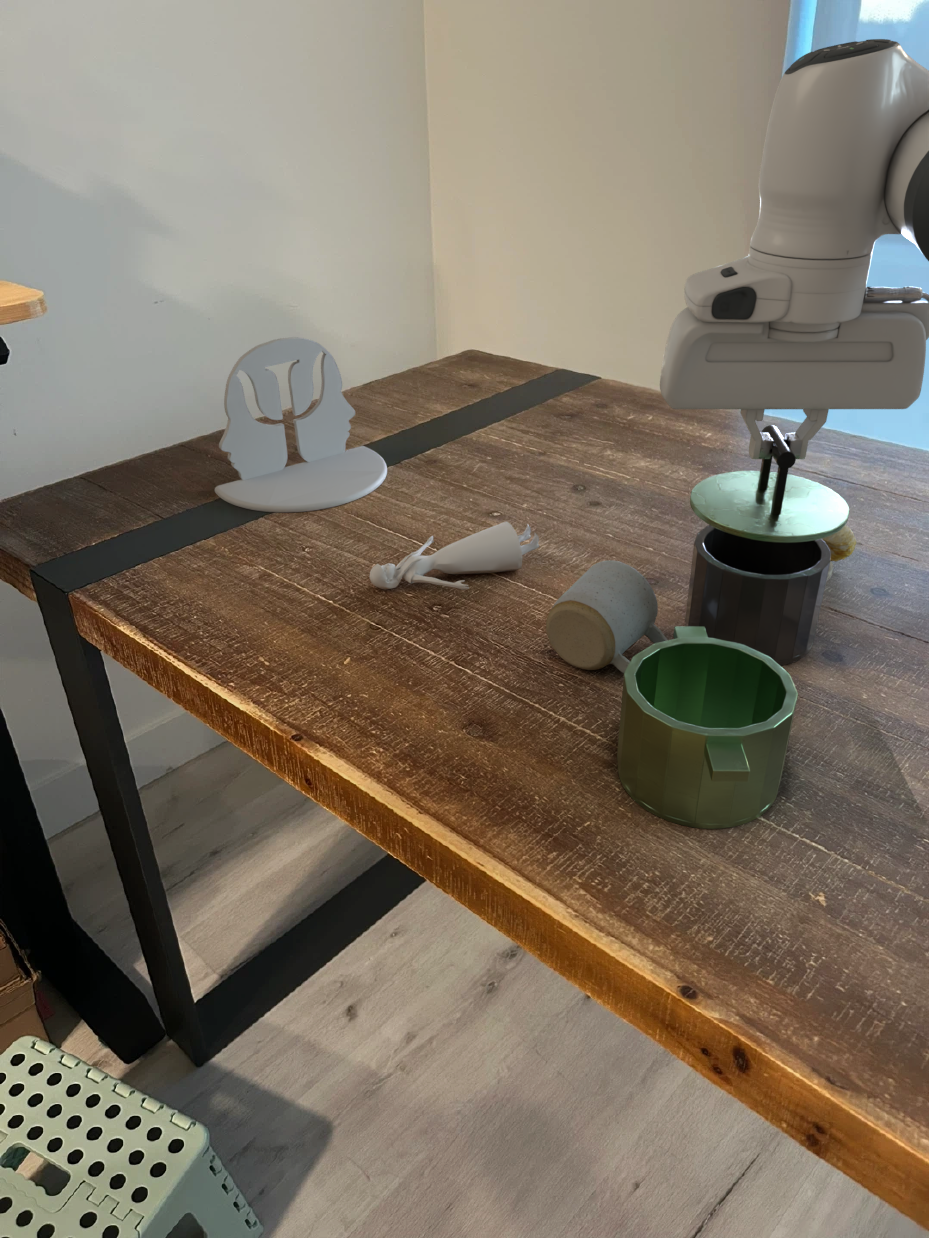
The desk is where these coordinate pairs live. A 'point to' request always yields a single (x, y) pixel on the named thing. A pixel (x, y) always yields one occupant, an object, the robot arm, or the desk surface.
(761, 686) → the pot
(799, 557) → the black cup
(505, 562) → the woman figurine
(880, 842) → the desk surface
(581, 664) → the ceramic mug
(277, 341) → the ornament
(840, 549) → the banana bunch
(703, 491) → the pot lid
